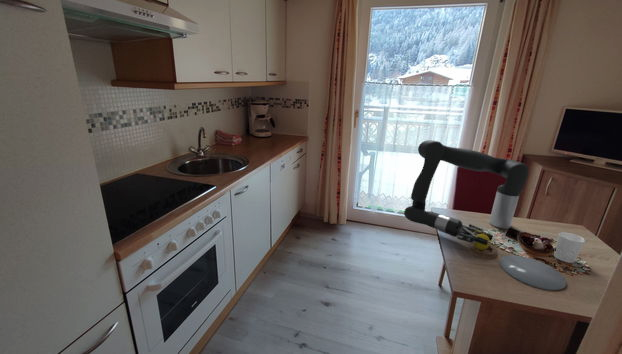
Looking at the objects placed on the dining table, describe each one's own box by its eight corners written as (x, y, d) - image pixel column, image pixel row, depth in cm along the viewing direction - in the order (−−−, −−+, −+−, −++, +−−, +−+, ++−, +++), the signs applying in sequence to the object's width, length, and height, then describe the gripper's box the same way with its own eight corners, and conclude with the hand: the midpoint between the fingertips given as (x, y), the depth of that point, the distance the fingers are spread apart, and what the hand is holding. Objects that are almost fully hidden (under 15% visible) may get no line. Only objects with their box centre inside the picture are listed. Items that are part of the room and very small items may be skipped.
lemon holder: (478, 243, 124) (479, 239, 124) (498, 251, 119) (500, 247, 118) (468, 252, 117) (469, 248, 116) (490, 261, 111) (491, 257, 111)
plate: (507, 251, 119) (507, 249, 119) (569, 274, 106) (570, 272, 105) (492, 269, 106) (493, 267, 106) (561, 298, 92) (562, 296, 92)
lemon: (472, 251, 118) (476, 234, 115) (472, 245, 123) (476, 229, 120) (487, 255, 116) (492, 238, 113) (486, 249, 120) (491, 232, 118)
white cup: (551, 250, 121) (558, 230, 118) (576, 258, 117) (584, 236, 114) (551, 258, 116) (559, 237, 113) (577, 266, 111) (586, 244, 108)
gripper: (442, 222, 121) (486, 237, 110) (455, 213, 131) (497, 227, 119) (439, 237, 124) (481, 254, 112) (452, 228, 133) (493, 242, 121)
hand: (489, 240), depth 116 cm, fingers closed on lemon, 5 cm apart
